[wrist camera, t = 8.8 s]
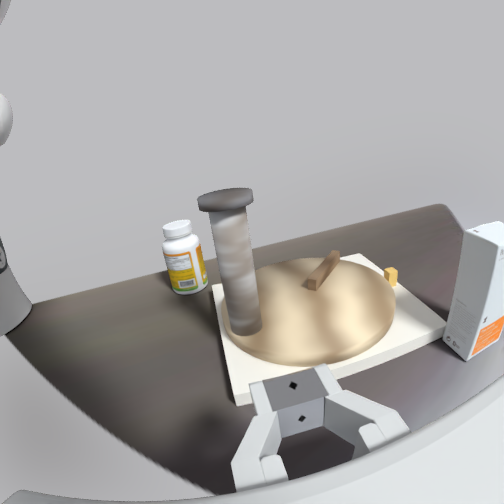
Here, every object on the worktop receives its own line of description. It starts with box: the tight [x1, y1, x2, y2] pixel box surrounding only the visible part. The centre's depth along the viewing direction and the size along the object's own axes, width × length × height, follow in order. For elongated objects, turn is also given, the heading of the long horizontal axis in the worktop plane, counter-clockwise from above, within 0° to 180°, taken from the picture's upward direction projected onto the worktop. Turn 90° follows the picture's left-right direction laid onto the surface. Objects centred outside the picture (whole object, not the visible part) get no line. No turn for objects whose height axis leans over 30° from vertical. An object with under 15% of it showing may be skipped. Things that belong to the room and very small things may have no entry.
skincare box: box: [443, 221, 504, 361], centre depth 22 cm, size 6×4×12 cm
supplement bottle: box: [162, 220, 208, 295], centre depth 43 cm, size 5×5×10 cm
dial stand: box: [212, 253, 447, 406], centre depth 34 cm, size 22×20×4 cm
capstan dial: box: [197, 188, 396, 367], centre depth 31 cm, size 19×19×14 cm
